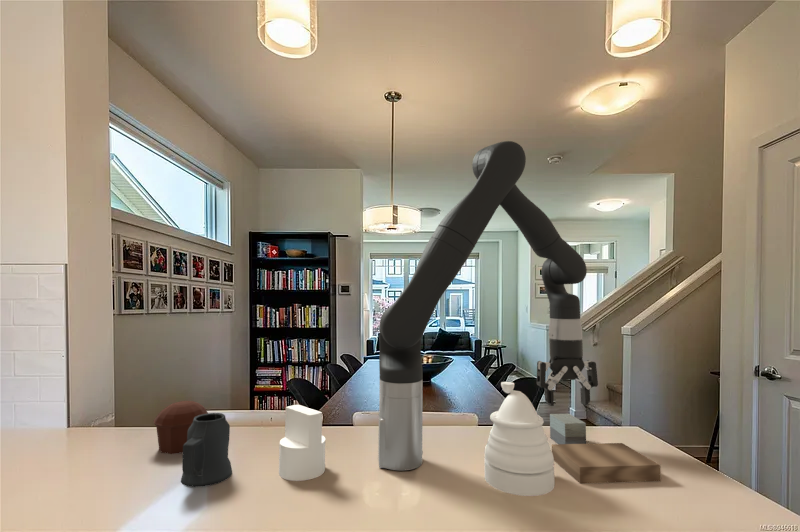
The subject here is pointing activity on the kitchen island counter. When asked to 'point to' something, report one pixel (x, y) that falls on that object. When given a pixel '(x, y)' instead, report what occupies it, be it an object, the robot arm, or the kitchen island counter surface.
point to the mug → (206, 451)
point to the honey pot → (518, 448)
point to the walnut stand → (605, 463)
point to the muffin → (176, 425)
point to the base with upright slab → (302, 445)
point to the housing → (567, 429)
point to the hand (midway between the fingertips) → (567, 404)
